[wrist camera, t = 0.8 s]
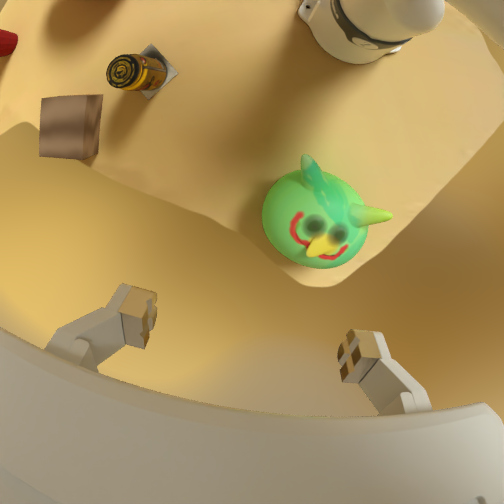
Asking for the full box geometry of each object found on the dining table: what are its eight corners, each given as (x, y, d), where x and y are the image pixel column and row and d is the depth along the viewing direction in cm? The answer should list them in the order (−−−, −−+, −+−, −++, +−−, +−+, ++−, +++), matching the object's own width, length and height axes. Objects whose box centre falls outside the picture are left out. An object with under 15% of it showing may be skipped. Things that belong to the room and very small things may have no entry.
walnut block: (59, 96, 41) (41, 98, 36) (104, 94, 42) (87, 95, 37) (56, 149, 47) (39, 156, 42) (98, 152, 48) (82, 160, 42)
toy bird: (247, 217, 53) (241, 258, 41) (291, 139, 46) (302, 154, 33) (327, 256, 57) (341, 303, 44) (373, 188, 49) (406, 220, 36)
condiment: (148, 100, 43) (116, 102, 32) (123, 70, 39) (87, 67, 29) (178, 73, 40) (153, 66, 30) (151, 43, 37) (121, 31, 27)
